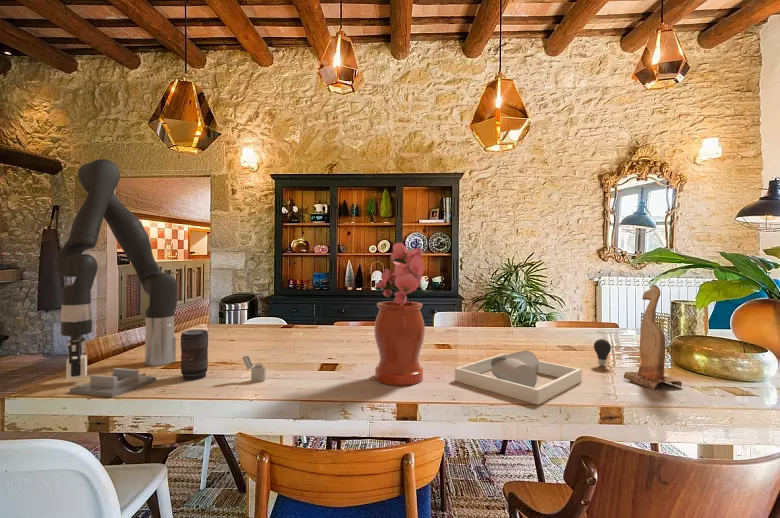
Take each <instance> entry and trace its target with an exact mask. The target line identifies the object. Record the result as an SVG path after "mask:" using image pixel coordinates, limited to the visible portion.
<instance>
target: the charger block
mask: <svg viewBox="0 0 780 518" xmlns="http://www.w3.org/2000/svg"><path fill="white" fill-rule="evenodd" d="M73 359H78V357H77V356H74V357H73ZM65 363H66V365H65V366H66V369H65V371H66V375H65V377H66V378H65V379H66V381H69V380H77V379H83V378H86V377H87V375H88V355H87V354H84V355H82V356H81V374H80V375H79V376H74V377H72V376H71V365H70V364H69V356H68V357H67V358H66V361H65Z"/></svg>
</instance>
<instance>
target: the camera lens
mask: <svg viewBox="0 0 780 518" xmlns="http://www.w3.org/2000/svg"><path fill="white" fill-rule="evenodd" d="M208 347H209V333H208V330H207V329H190V330H184V331H182V332H181V335H180V350H181V351H180V372H181V375H182V379H183V380H186V381H195V380H200V379H203V378H205V377H207V372H208V366H209V358H208V357H209V355H208V354H209V349H208Z"/></svg>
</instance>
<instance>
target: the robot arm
mask: <svg viewBox="0 0 780 518" xmlns="http://www.w3.org/2000/svg"><path fill="white" fill-rule="evenodd" d="M77 178H78V180H79V183H80V185H81V186H82V187H83V189H84V190H85V191H86V193H87V196H86V198H85V199H84V201H83V204H82V205H81V206H80V208H79V210H78V212H77V213H76V214H75V217H74V219H73V222H72V224H71V229H70V233H69V236H68V239H67V241H66V242H65V243H64V245H63V246H62V248H61V250H60V251H59V253H58V254H57V255H56V257H55V260H54V269H55V272H56V273H57V274H58V275H59V276H60V277H65V278H72V277H73V278H75V279H74V281H73V283H72V284H68V285H64V286H63V287H62V290H61V309H60V336H64V337H70V339H69V340H68V341H67V349H68V351H67V353H68V357H69V364H70V365H71V376H72V377H74V376H79V375H80V374H81V356H82V355H85V352H86V346H85V345H86V343H87V341H86V338H85V337H84V336H83V335H89V334H91V333H92V332H93V309H92V292H91V291H92V289H93V286H94V285H93V284H94V282H95V279H96V275H97V272H98V263H97V259H96V258H95V257H94V256H93V255H91V254H88V253H84V252H85V251H88V250H91V249H93V248H95V247H96V245H97V243H98V240H99V235H100V230H101V227H102V224H103V220H105V222H106V223H107V225H108V227H109V229H110V231H111V232H112V234H113V236H114V238H115V240H116V242H117V244H118V245H119V246H120V248H121V249H122V251H123V253H124V255H125V256H126V258H127V259H128V261H129V262H130V263H131V265H132V267H133V269H134V270H135V273H136V275H137V278H138V279H139V282H140V284H141V287H142V290H143V291H144V292H145V294H146V295H148V296H149V301H148V307H147V308H146V310H145V325H144V326H145V329H144V330H145V333H144V334H145V337H144V338H145V343H144V344H145V345H144V347H145V349H144V351H145V352H144V364H145V366H149V367H153V366H154V367H155V366H156V367H157V366H165V365H169V364H172V363H176V362H177V361H176V359H177V355H176V354H177V337H176V335H175V313H176V312H175V311H176V309H177V305H178V283H177V279H176V278H175V277H174V276H173V275H171V274H170V273H165V272H163V271H162V270H161V268H160V267H159V265H158V263H157V261H156V260H155V258H154V254H153V251H152V250H153V249H152V245H151V241H150V238H149V235H148V233H147V231H146V229H145V227H144V225H143V223H142V222H141V221H140V219H139V218H138V217H137V216H136V215H135V213H134V212H132V211H131V210H129V209H128V208H127V207H126V206H125V205H124V204H123V203H122V202H121V201H120V200H119V199H118V197H117V196H116V194H115V190H116V188H117V186H118V184H119V181H120V178H121V171H120V169H119V167H118V166H117V165H116V163H114V162H113V161H111V160H109V159H105V158H100V159H95V160H91V161H90V162H87V163H85V164H82V165H80V166H79V168H78V170H77ZM74 356H77V357H78V359H73V357H74Z"/></svg>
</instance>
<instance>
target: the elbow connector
mask: <svg viewBox="0 0 780 518" xmlns="http://www.w3.org/2000/svg"><path fill="white" fill-rule="evenodd" d="M538 360H539V359H538V357H537V355H536V354H534V352H531V351H530V350H521V351H517V352H514V353H509V355H505V356H501V357H497V358H494V359H493V360H492V361H491V366H492V370H491V373H492V375H493V377H494V376H495V378H498V379H502V380H506V381H510V382H514V383H517V384H521V385H525V386H529V387H533V388H536V387H535V386H536V384H537V381H538V380H537V379H538V376H537V371H538V369H539V362H538Z"/></svg>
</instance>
